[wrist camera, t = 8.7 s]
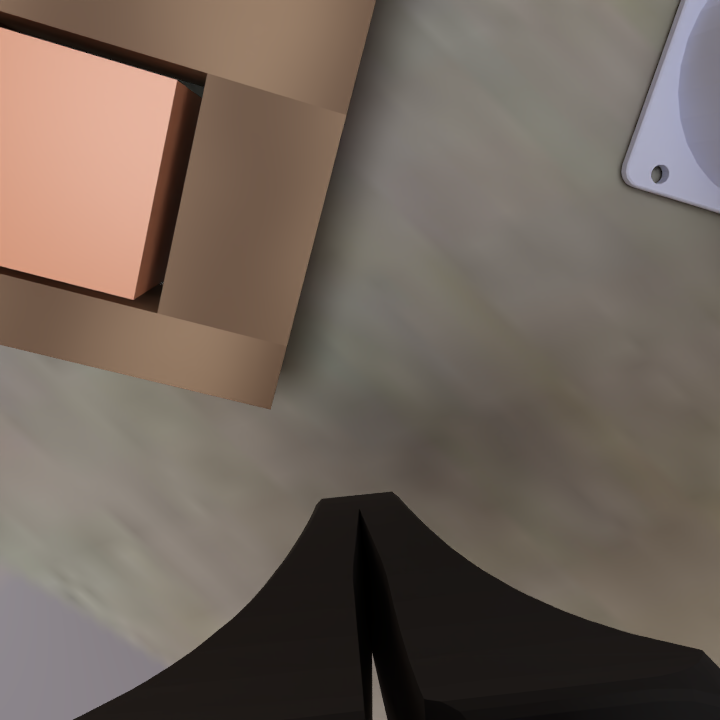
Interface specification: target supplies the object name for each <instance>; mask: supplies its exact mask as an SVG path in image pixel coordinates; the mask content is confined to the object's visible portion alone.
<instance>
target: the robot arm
mask: <svg viewBox="0 0 720 720" xmlns="http://www.w3.org/2000/svg"><path fill="white" fill-rule="evenodd" d="M656 166H659V167H660V168H661V170H662V178H661V179H660V181H659V182H657V183H655V182H653V180H652V178H651V172H652V170H653V169H654V167H656ZM621 173H622V177H623V180H624V181H625V182H626V184H628V185H630V186H631V187H634V188H637V189H641V190H644V191H647V192H650V193H654V194H657V195H660V196H664V197H667V198H670V199H673V200H677V201H680V202H683V203H687V204H690V205H693V206H697V207H700V208H703V209H706V210H710V211H713V212H716V213H720V0H681V2H680V4H679V7H678V10H677V13H676V16H675V18H674V21H673V24H672V27H671V30H670V32H669V35H668V38H667V41H666V44H665V47H664V49H663V52H662V55H661V58H660V61H659V63H658V66H657V69H656V72H655V75H654V77H653V80H652V83H651V86H650V89H649V91H648V94H647V97H646V100H645V103H644V106H643V108H642V111H641V114H640V117H639V120H638V122H637V125H636V128H635V131H634V134H633V136H632V139H631V142H630V145H629V148H628V151H627V153H626V156H625V159H624V162H623V165H622V170H621ZM372 653H373V658H374V662H375V667H376V671H377V675H378V680H379V684H380V689H381V693H382V698H383V702H384V706H385V711H386V715H387V719H388V720H720V668H719V667H718V666H717V665H716V664H715V663H714V662H713V661H712V660H711V659H710V658H709V657H708V656H707V655H706V654H705V653H704V652H703V651H702V650H699V649H695V648H690V647H686V646H682V645H677V644H673V643H669V642H665V641H660V640H656V639H652V638H647V637H643V636H639V635H634V634H630V633H627V632H623V631H620V630H617V629H614V628H611V627H608V626H605V625H602V624H598V623H595V622H592V621H589V620H586V619H583V618H581V617H578V616H575V615H573V614H570V613H567V612H565V611H562V610H560V609H557V608H555V607H553V606H551V605H548V604H546V603H544V602H542V601H539V600H537V599H535V598H533V597H530V596H528V595H526V594H524V593H522V592H520V591H518V590H516V589H514V588H512V587H511V586H509V585H507V584H505V583H504V582H502V581H500V580H499V579H497V578H495V577H493V576H492V575H490V574H488V573H486V572H485V571H483V570H482V569H480V568H479V567H477V566H476V565H474V564H473V563H471V562H470V561H468V560H467V559H466V558H464V557H463V556H462V555H460V554H459V553H457V552H456V551H455V550H453V549H452V548H451V547H450V546H448V545H447V544H446V543H445V542H444V541H443V540H442V539H440V538H439V537H438V536H437V535H436V534H435V533H434V532H432V531H431V530H430V529H429V528H428V527H427V526H426V525H425V524H424V523H423V522H422V521H421V520H420V519H419V518H418V517H417V516H416V515H415V514H414V513H413V512H412V511H411V510H410V509H409V508H408V507H407V506H406V505H405V504H404V503H403V502H402V500H401V499H400V498H399V497H398V496H397V495H395V494H394V493H393V492H384V493H374V494H365V495H355V496H345V497H335V498H325V499H321V500H320V502H319V503H318V504H317V505H316V507H315V509H314V512H313V514H312V516H311V518H310V520H309V521H308V523H307V525H306V527H305V529H304V530H303V532H302V534H301V535H300V537H299V538H298V540H297V542H296V543H295V545H294V546H293V548H292V549H291V551H290V552H289V554H288V555H287V557H286V558H285V560H284V561H283V562H282V564H281V565H280V566H279V568H278V569H277V570H276V571H275V573H274V574H273V575H272V577H271V578H270V579H269V580H268V582H267V583H266V584H265V586H264V587H263V588H262V589H261V590H260V591H259V592H258V594H257V595H256V596H255V597H254V598H253V599H252V600H251V601H250V602H249V603H248V604H247V605H246V606H245V607H244V608H243V609H242V610H241V611H240V612H239V613H238V614H237V615H236V616H235V617H234V618H233V619H232V620H230V621H229V622H228V623H227V624H225V625H224V626H223V627H222V628H221V629H219V630H218V631H217V632H216V633H214V634H213V635H212V636H211V637H209V638H208V639H207V640H206V641H204V642H203V643H202V644H201V645H200V646H198V647H197V648H196V649H194V650H193V651H192V652H190V653H189V654H187V655H186V656H184V657H183V658H182V659H180V660H179V661H177V662H176V663H174V664H173V665H171V666H170V667H168V668H167V669H165V670H163V671H162V672H160V673H159V674H157V675H155V676H154V677H152V678H151V679H149V680H148V681H146V682H144V683H142V684H141V685H139V686H137V687H135V688H134V689H132V690H130V691H128V692H126V693H125V694H123V695H121V696H119V697H117V698H115V699H113V700H111V701H109V702H107V703H105V704H103V705H101V706H99V707H97V708H95V709H93V710H91V711H89V712H88V713H86V714H84V715H82V716H80V717H77V718H76V719H73V720H372Z"/></svg>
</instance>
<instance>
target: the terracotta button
mask: <svg viewBox="0 0 720 720" xmlns="http://www.w3.org/2000/svg"><path fill="white" fill-rule="evenodd" d="M201 102H202V98H201V97H199V96H198V95H197V94H195V93H194V92H193V91H191V90H190V89H189V88H187V87H186V86H185V85H183V84H182V83H180V82H179V81H178V80H175V79H172V78H169V77H165V76H162V75H159V74H155V73H152V72H148V71H145V70H142V69H138V68H135V67H132V66H128V65H125V64H122V63H118V62H115V61H112V60H108V59H105V58H101V57H98V56H95V55H91V54H88V53H85V52H81V51H78V50H75V49H71V48H68V47H65V46H61V45H58V44H54V43H51V42H48V41H44V40H41V39H38V38H34V37H31V36H28V35H24V34H21V33H18V32H14V31H11V30H7V29H4V28H1V27H0V266H2V267H6V268H10V269H14V270H18V271H22V272H26V273H30V274H34V275H37V276H41V277H45V278H49V279H53V280H57V281H61V282H65V283H69V284H73V285H77V286H81V287H85V288H89V289H93V290H97V291H100V292H104V293H108V294H112V295H116V296H120V297H124V298H128V299H132V300H134V299H136V298H137V297H139V296H140V295H142V294H144V293H145V292H147V291H148V290H150V289H151V288H153V287H155V286H156V285H158V284H159V283H161V282H162V281H164V279H165V274H166V269H167V265H168V260H169V255H170V250H171V245H172V241H173V236H174V231H175V226H176V222H177V217H178V212H179V207H180V202H181V198H182V193H183V188H184V183H185V178H186V174H187V169H188V164H189V159H190V154H191V150H192V145H193V140H194V135H195V130H196V126H197V121H198V116H199V111H200V106H201Z"/></svg>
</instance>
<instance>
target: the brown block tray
mask: <svg viewBox="0 0 720 720" xmlns="http://www.w3.org/2000/svg"><path fill="white" fill-rule="evenodd" d="M375 2H376V0H0V27H1V28H4V29H7V30H11V31H14V32H16V31H19V32H22V33H26V34H29V35H32V36H36V37H39V38H43V39H46V40H49V41H53V42H56V43H59V44H63V45H66V46H69V47H73V48H76V49H79V50H83V51H86V52H89V53H93V54H96V55H100V56H103V57H106V58H110V59H113V60H116V61H120V62H123V63H126V64H130V65H133V66H136V67H140V68H143V69H147V70H150V71H153V72H157V73H160V74H163V75H167V76H170V77H173V78H177V79H180V80H183V81H187V82H190V83H193V84H197V85H200V86H204V92H203V97H202V102H201V106H200V111H199V116H198V121H197V126H196V130H195V135H194V140H193V145H192V150H191V154H190V159H189V164H188V169H187V174H186V178H185V183H184V188H183V193H182V198H181V202H180V207H179V212H178V217H177V222H176V226H175V231H174V236H173V241H172V245H171V250H170V255H169V260H168V265H167V269H166V274H165V279H164V284H163V285H159V284H158V285H156V286H155V287H153V288H151V289H150V290H148V291H147V292H145V293H144V294H142V295H140V296H139V297H137V298H136V299H134V300H132V299H128V298H124V297H120V296H116V295H112V294H108V293H104V292H100V291H97V290H93V289H89V288H85V287H81V286H77V285H73V284H69V283H65V282H61V281H57V280H53V279H49V278H45V277H41V276H37V275H34V274H30V273H26V272H22V271H18V270H14V269H10V268H6V267H2V266H0V345H4V346H8V347H12V348H16V349H21V350H25V351H29V352H33V353H37V354H41V355H46V356H50V357H54V358H58V359H62V360H66V361H71V362H75V363H79V364H83V365H87V366H91V367H96V368H100V369H104V370H108V371H112V372H116V373H121V374H125V375H129V376H133V377H137V378H142V379H146V380H150V381H154V382H158V383H162V384H167V385H171V386H175V387H179V388H183V389H187V390H192V391H196V392H200V393H204V394H208V395H212V396H217V397H221V398H225V399H229V400H233V401H237V402H242V403H246V404H250V405H254V406H258V407H263V408H267V409H271V406H272V402H273V398H274V394H275V390H276V386H277V382H278V379H279V375H280V371H281V367H282V363H283V359H284V355H285V351H286V347H287V344H288V340H289V336H290V332H291V328H292V324H293V320H294V316H295V313H296V309H297V305H298V301H299V297H300V293H301V289H302V285H303V282H304V278H305V274H306V270H307V266H308V262H309V258H310V254H311V251H312V247H313V243H314V239H315V235H316V231H317V227H318V223H319V220H320V216H321V212H322V208H323V204H324V200H325V196H326V192H327V188H328V185H329V181H330V177H331V173H332V169H333V165H334V161H335V157H336V154H337V150H338V146H339V142H340V138H341V134H342V130H343V126H344V123H345V119H346V115H347V111H348V107H349V103H350V99H351V95H352V92H353V88H354V84H355V80H356V76H357V72H358V68H359V64H360V60H361V57H362V53H363V49H364V45H365V41H366V37H367V33H368V29H369V26H370V22H371V18H372V14H373V10H374V6H375Z"/></svg>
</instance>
